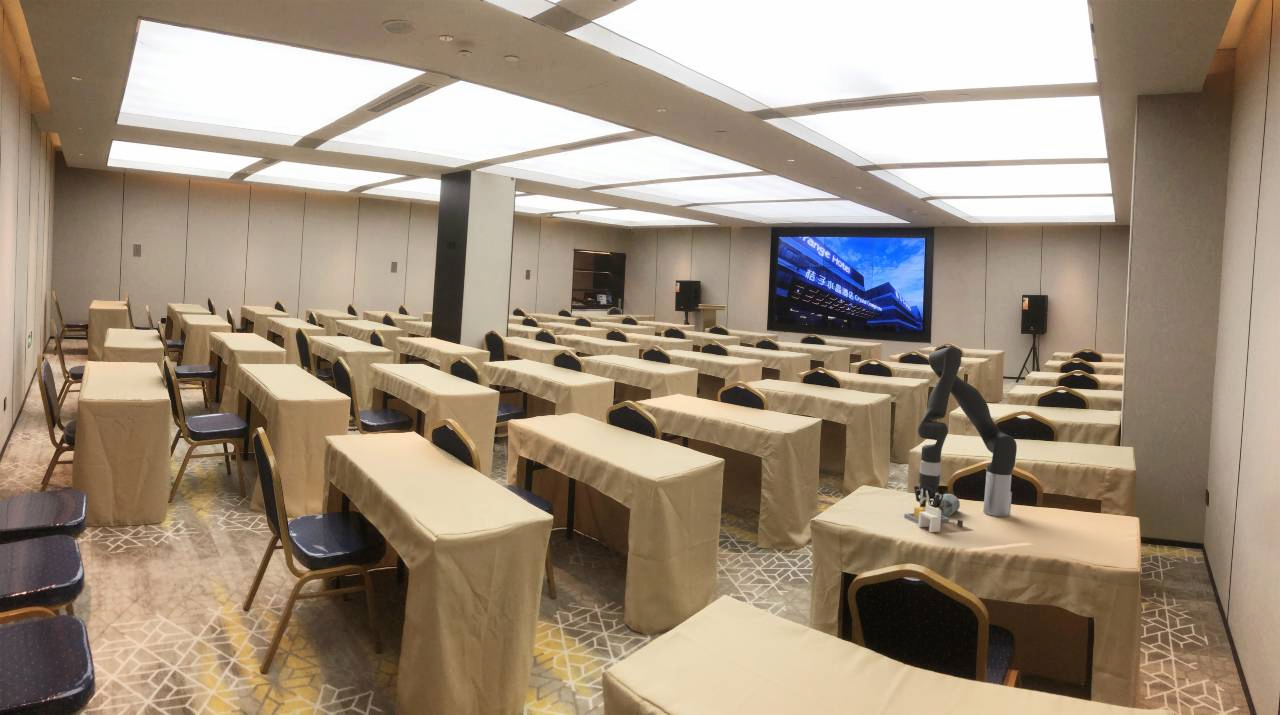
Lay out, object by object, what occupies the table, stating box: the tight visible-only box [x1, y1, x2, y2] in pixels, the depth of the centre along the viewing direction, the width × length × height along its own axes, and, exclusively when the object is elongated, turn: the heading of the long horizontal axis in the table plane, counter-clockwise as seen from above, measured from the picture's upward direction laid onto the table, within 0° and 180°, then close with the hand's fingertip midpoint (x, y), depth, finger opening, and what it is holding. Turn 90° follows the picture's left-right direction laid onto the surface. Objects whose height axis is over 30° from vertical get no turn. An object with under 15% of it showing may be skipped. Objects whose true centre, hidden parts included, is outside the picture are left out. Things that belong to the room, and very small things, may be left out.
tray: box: [903, 512, 950, 524], centre depth 282 cm, size 14×9×2 cm
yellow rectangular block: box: [913, 506, 940, 519], centre depth 282 cm, size 9×4×4 cm, turn 110°
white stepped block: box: [917, 504, 941, 533], centre depth 270 cm, size 4×7×8 cm, turn 20°
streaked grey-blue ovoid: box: [939, 493, 961, 518], centre depth 293 cm, size 14×10×10 cm
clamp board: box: [916, 519, 973, 535], centre depth 273 cm, size 18×10×3 cm, turn 110°
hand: (926, 515), depth 282 cm, fingers closed on yellow rectangular block, 3 cm apart
